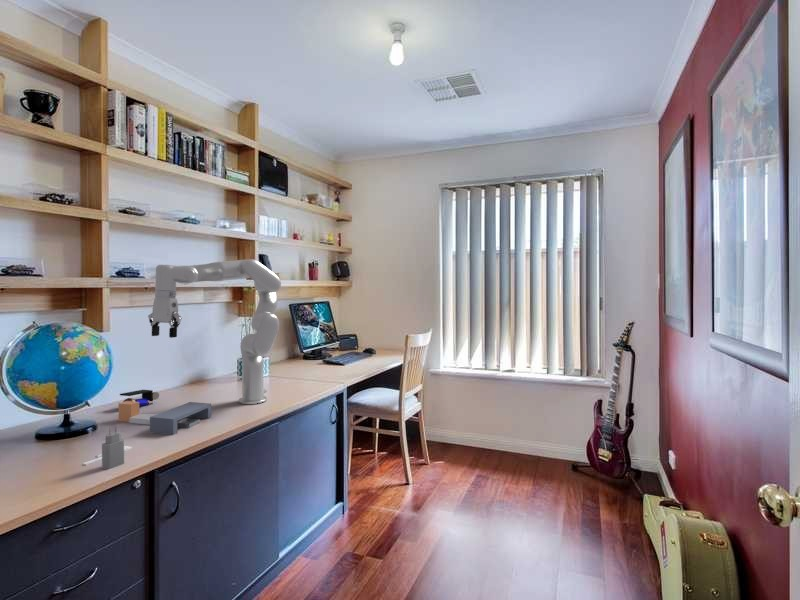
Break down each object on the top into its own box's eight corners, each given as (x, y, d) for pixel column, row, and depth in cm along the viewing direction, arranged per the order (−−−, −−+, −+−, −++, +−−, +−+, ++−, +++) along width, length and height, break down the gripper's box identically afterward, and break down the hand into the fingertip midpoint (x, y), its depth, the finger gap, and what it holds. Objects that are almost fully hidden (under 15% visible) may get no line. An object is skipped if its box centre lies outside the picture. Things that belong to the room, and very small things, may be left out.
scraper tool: (128, 417, 183) (128, 400, 182) (177, 421, 178) (177, 404, 177) (116, 421, 177) (116, 404, 176) (166, 426, 172) (166, 408, 172)
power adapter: (125, 463, 136) (125, 424, 136) (107, 469, 131) (107, 429, 131) (118, 461, 137) (118, 422, 137) (100, 467, 132) (100, 427, 132)
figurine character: (147, 404, 207) (117, 409, 193) (149, 388, 208) (119, 391, 193) (159, 406, 205) (129, 411, 190) (160, 389, 205) (130, 393, 191)
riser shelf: (190, 415, 186) (189, 401, 185) (211, 417, 184) (211, 403, 183) (149, 432, 164) (149, 417, 164) (173, 434, 162) (173, 419, 162)
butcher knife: (75, 464, 136) (75, 460, 136) (122, 448, 150) (122, 444, 150) (86, 466, 134) (86, 462, 134) (132, 450, 148) (132, 446, 148)
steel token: (186, 423, 177) (186, 418, 177) (199, 424, 176) (199, 419, 176) (175, 427, 171) (175, 422, 171) (189, 429, 170) (189, 423, 170)
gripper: (188, 295, 184) (187, 337, 184) (157, 294, 190) (156, 334, 190) (173, 295, 177) (172, 338, 177) (141, 294, 183) (140, 335, 183)
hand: (164, 336), depth 183 cm, fingers open, 9 cm apart
